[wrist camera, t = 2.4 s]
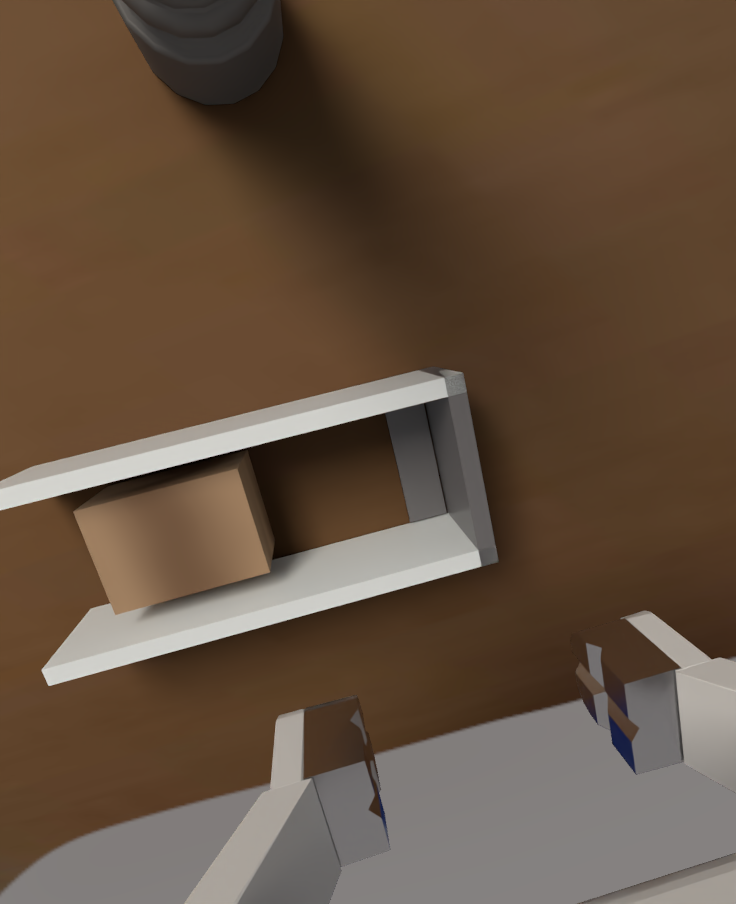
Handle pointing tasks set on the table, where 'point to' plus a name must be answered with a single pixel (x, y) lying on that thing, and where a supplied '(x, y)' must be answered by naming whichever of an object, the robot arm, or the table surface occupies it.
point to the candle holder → (207, 44)
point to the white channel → (306, 573)
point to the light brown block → (178, 532)
